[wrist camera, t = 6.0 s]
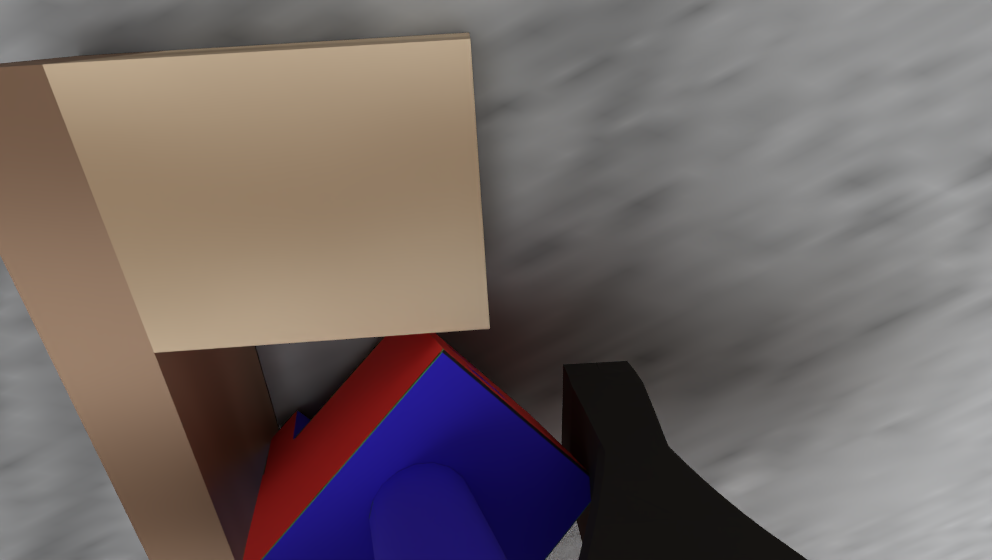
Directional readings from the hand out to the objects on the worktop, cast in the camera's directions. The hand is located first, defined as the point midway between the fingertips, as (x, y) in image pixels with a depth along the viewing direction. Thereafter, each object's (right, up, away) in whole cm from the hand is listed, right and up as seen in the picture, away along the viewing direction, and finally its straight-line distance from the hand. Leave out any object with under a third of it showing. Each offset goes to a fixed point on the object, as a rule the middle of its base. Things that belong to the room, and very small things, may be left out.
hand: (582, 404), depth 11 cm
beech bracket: (-4, 0, +2) cm, 5 cm away
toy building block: (-3, 0, +1) cm, 4 cm away
